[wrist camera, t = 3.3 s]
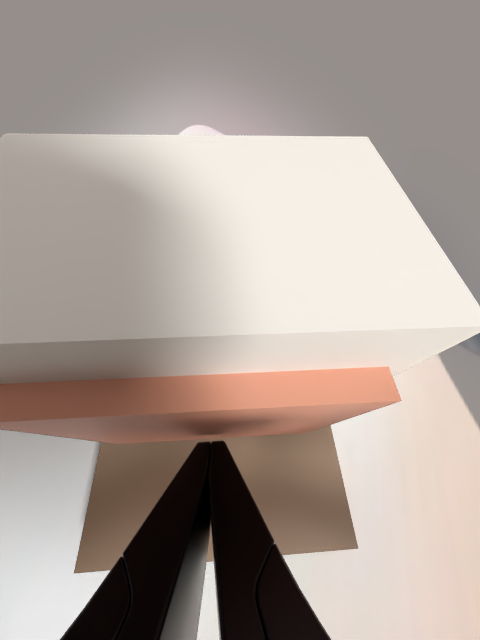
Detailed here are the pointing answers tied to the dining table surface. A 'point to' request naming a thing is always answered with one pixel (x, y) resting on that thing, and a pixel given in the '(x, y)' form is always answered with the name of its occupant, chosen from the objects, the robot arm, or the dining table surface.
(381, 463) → the dining table surface
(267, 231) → the block
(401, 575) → the dining table surface
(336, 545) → the board
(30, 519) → the dining table surface
